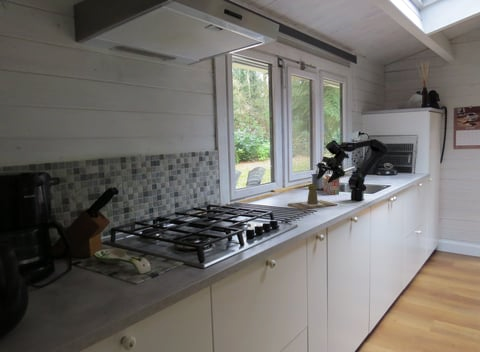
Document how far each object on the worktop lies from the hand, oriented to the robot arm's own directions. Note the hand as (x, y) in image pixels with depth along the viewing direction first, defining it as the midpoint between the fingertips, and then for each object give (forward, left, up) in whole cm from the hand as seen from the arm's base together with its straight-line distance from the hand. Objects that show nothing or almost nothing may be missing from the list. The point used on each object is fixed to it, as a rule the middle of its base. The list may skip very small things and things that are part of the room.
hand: (322, 180), depth 213 cm
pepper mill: (+2, +8, -12) cm, 15 cm away
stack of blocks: (+13, -42, -14) cm, 46 cm away
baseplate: (+2, +9, -13) cm, 16 cm away
